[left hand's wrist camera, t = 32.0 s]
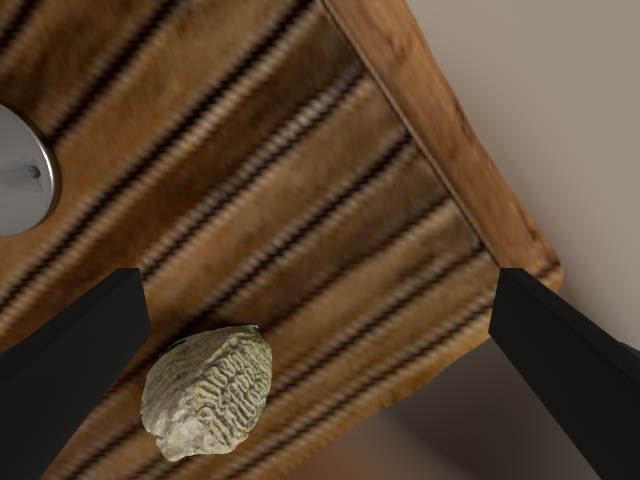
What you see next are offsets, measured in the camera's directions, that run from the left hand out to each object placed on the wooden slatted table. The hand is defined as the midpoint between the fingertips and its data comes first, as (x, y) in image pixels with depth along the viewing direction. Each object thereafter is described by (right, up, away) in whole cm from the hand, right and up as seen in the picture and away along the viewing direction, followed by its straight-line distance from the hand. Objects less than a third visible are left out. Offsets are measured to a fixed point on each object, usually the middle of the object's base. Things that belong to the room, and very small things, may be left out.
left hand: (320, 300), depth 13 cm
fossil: (-14, -13, +34) cm, 39 cm away
